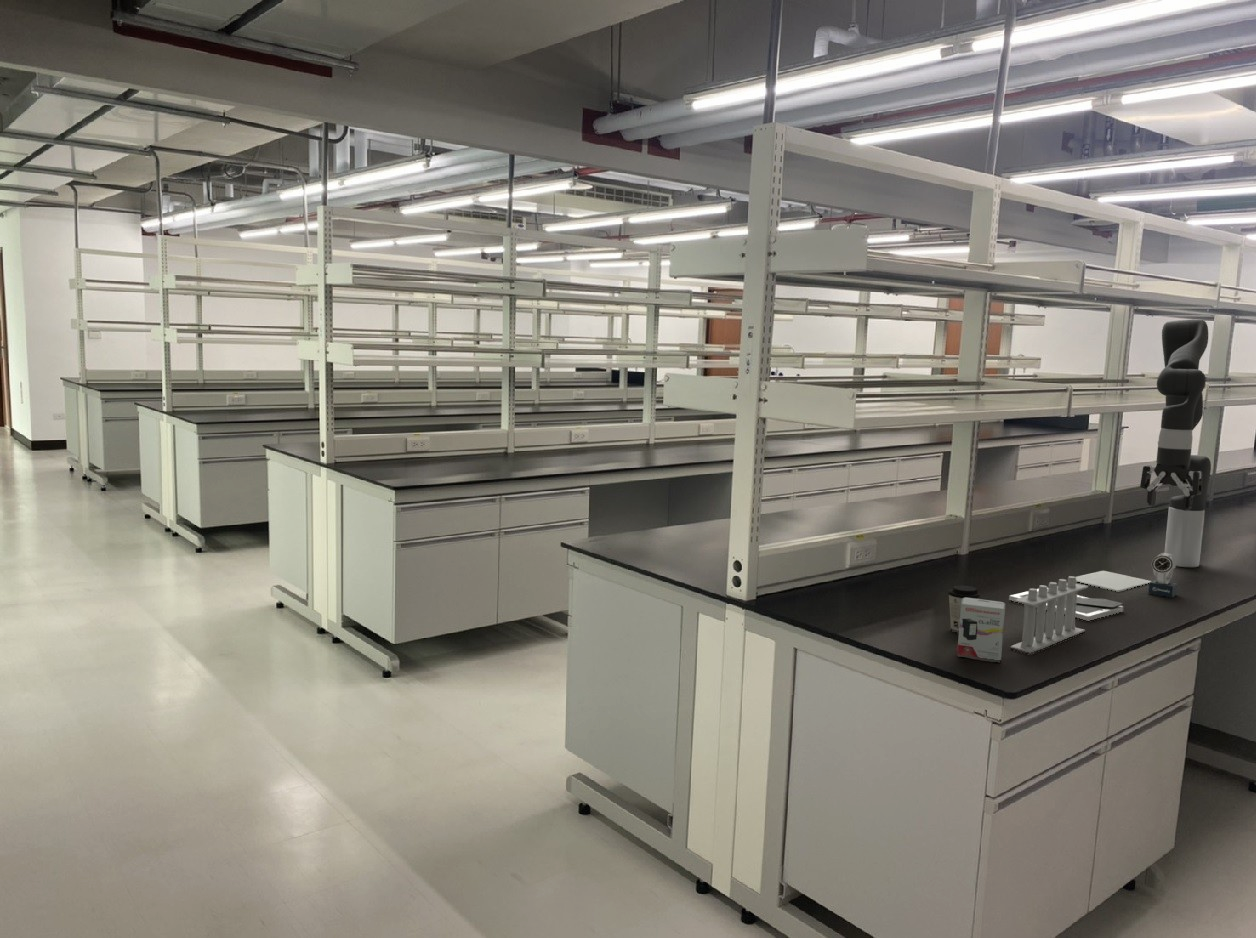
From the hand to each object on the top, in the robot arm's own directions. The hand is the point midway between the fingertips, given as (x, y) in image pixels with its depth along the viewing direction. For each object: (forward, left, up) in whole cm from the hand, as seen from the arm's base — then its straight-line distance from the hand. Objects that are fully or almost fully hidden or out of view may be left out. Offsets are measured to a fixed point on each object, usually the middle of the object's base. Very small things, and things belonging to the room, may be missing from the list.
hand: (1168, 507), depth 235 cm
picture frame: (+33, -7, -24) cm, 42 cm away
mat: (-1, -14, -23) cm, 27 cm away
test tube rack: (+62, +6, -24) cm, 67 cm away
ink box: (+85, +5, -24) cm, 88 cm away
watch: (0, +1, -23) cm, 23 cm away
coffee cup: (+73, -8, -23) cm, 77 cm away
